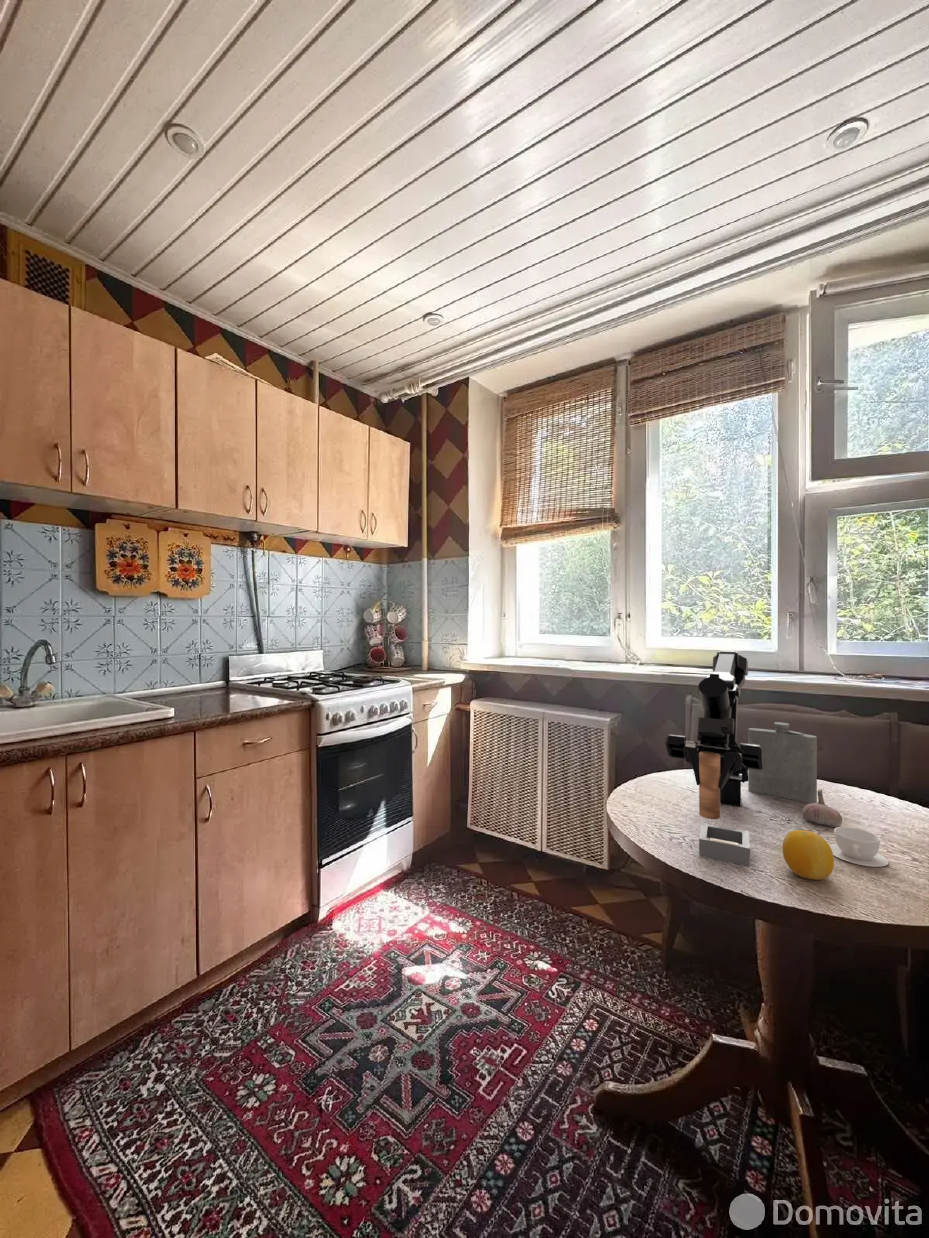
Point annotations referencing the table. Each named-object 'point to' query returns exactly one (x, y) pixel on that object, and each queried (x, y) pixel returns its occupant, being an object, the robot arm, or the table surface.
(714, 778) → the peg
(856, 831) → the teacup
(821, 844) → the fruit
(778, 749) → the hip flask
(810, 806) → the garlic bulb
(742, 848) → the socket block
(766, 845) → the table surface
